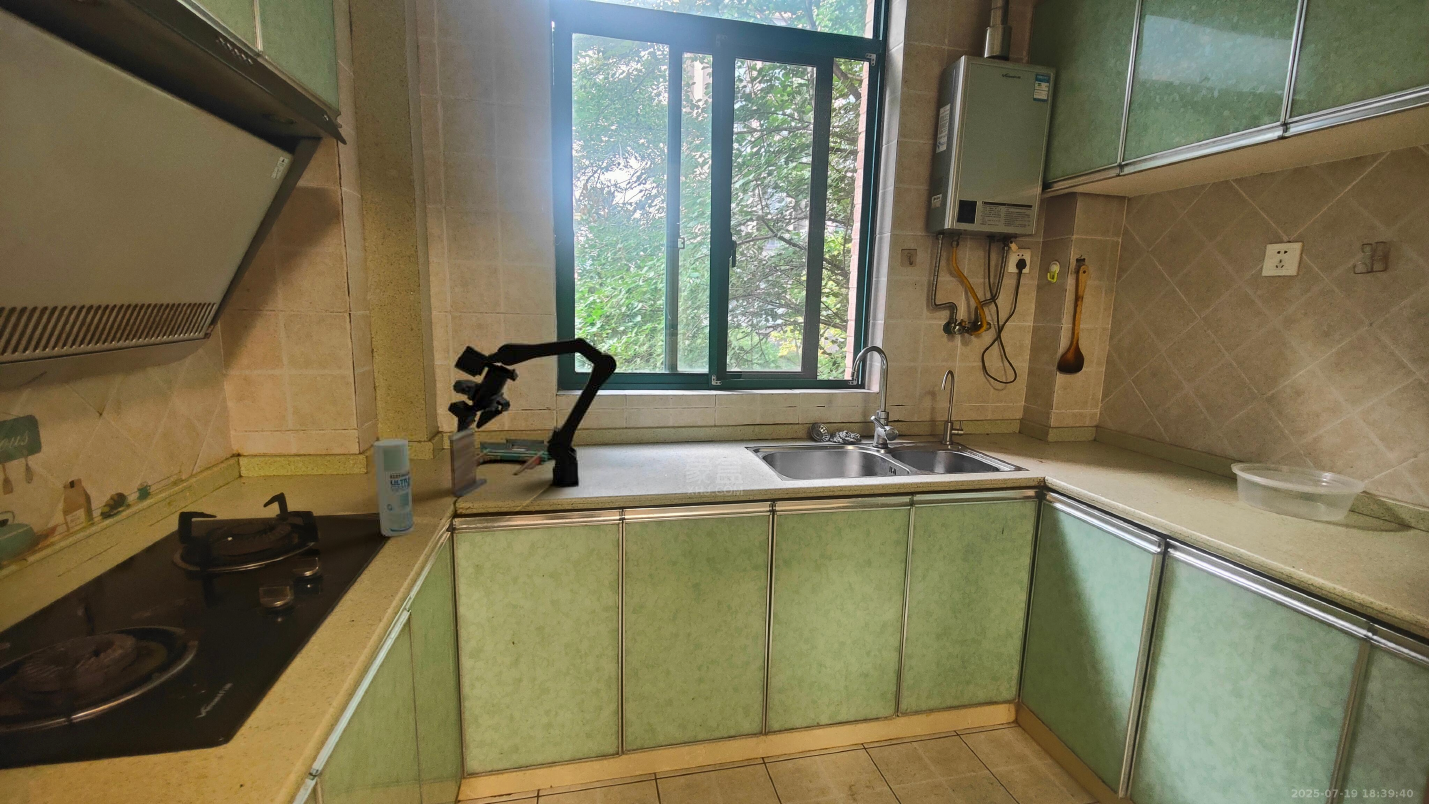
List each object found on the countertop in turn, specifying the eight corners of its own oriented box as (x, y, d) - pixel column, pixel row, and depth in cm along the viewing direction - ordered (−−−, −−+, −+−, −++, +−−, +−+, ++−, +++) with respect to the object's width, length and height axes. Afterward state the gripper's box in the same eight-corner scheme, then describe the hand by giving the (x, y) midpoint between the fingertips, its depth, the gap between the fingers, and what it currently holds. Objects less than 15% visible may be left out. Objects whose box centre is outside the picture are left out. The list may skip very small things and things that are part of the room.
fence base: (487, 485, 160) (486, 478, 159) (463, 500, 148) (462, 492, 147) (480, 485, 160) (479, 478, 159) (455, 499, 148) (455, 492, 148)
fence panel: (477, 481, 159) (475, 427, 156) (456, 493, 149) (453, 436, 146) (472, 481, 159) (470, 427, 156) (450, 493, 149) (448, 435, 146)
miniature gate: (440, 464, 169) (489, 434, 198) (442, 482, 170) (491, 450, 199) (530, 468, 166) (567, 437, 195) (532, 486, 167) (567, 453, 196)
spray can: (392, 539, 124) (384, 447, 120) (374, 532, 127) (366, 443, 124) (420, 529, 129) (414, 440, 126) (402, 523, 132) (395, 437, 129)
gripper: (492, 364, 166) (469, 407, 170) (444, 371, 148) (420, 420, 152) (521, 387, 164) (497, 430, 169) (477, 397, 146) (452, 445, 151)
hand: (468, 430), depth 160 cm, fingers open, 7 cm apart
